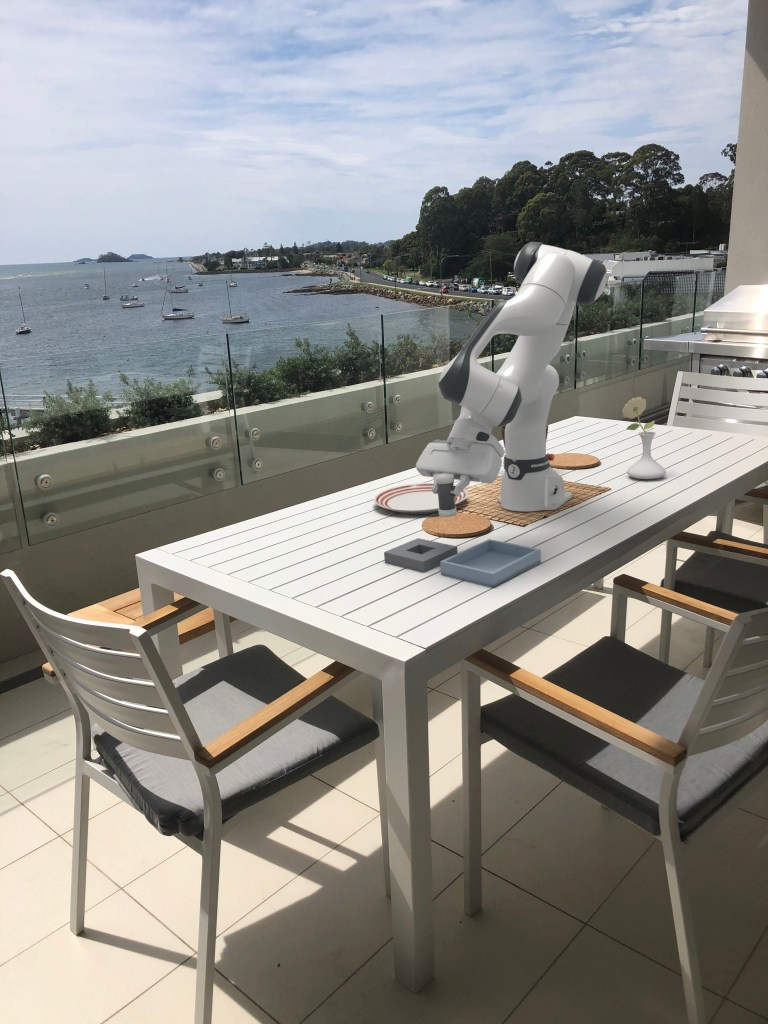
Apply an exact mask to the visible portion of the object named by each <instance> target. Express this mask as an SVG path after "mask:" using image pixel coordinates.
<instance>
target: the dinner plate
mask: <svg viewBox="0 0 768 1024" xmlns="http://www.w3.org/2000/svg"><path fill="white" fill-rule="evenodd" d="M456 485H457V484H454V486H456ZM433 486H434V482H421V483H411V484H405V485H404V484H403V485H399V486H394V487H391V488H387V489H385V490H383V491H381V492H379V493H377V494H376V495H375V496H374V498H373V501H374V504H376V506H378V507H381V508H382V509H386V510H390V511H394V512H398V513H400V514H401V513H402V514H411V515H413V514H415V515H416V514H429V513H437V512H439V511H438V508H439V501H438V494H434V493H433V492H432V488H433ZM468 496H469V492H468V490H466V488H465V489H463V490H462V491H461V493H460V496H459V497H457V496H454V497H455V506H456V505H458V504H460V503H462V502H464V501H465V500H466V499H467V498H468Z"/></svg>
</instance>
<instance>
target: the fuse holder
mask: <svg viewBox="0 0 768 1024" xmlns="http://www.w3.org/2000/svg"><path fill="white" fill-rule="evenodd" d="M383 554H384V563H387V564H390V565H394V566H397V567H402V568H406V569H408V570H409V569H410V570H414V571H418V572H421V573H426V572H429V571H430V570H433V569H434V568H436V567H440V561H442V560H445V559H447V558H449V557H451V556H453V555H455V554H458V546H456V545H452V544H447V543H443V542H437V541H433V540H429V539H424V538H419V537H418V538H414V539H411V540H410V541H408V542H405V543H402V544H401V545H398V546H396V547H393V548H391V549H389V550H386V551H383Z"/></svg>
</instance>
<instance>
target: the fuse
mask: <svg viewBox="0 0 768 1024" xmlns="http://www.w3.org/2000/svg"><path fill="white" fill-rule="evenodd" d="M454 482H455V479H454V474H452V473H441V474H437V475H436V483H437V489H438V501H439V508H438V511H437V512H438V516H439V517H441V518H443V517H444V518H450V517H454V516H457V514H458V513H457V506H456V505H455V497H454V496H452V494H451V493H450V491H451V490H452V486H454V485H455V484H454Z"/></svg>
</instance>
